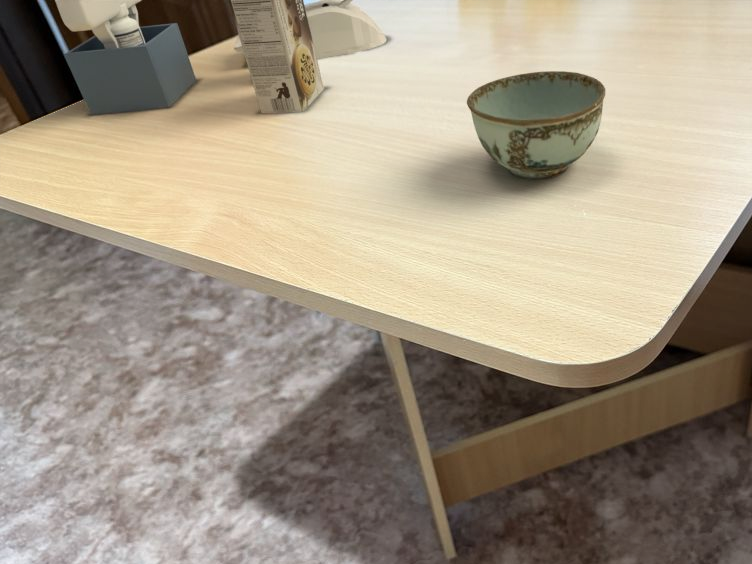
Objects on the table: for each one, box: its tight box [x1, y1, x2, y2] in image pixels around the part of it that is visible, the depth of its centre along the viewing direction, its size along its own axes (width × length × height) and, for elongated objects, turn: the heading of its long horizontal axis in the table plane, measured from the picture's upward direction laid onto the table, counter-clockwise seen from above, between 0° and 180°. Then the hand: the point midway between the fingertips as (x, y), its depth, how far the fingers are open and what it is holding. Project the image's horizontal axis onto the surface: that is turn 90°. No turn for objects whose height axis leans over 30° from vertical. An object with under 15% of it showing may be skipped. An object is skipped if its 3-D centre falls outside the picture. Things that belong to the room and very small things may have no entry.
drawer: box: [63, 22, 197, 116], centre depth 104 cm, size 16×12×9 cm
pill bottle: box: [109, 3, 146, 47], centre depth 100 cm, size 5×5×10 cm
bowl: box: [466, 70, 606, 181], centre depth 70 cm, size 14×13×8 cm
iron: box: [233, 0, 387, 59], centre depth 112 cm, size 11×24×15 cm, turn 99°
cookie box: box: [228, 0, 325, 114], centre depth 92 cm, size 9×6×16 cm
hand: (126, 47), depth 101 cm, fingers closed on pill bottle, 5 cm apart
